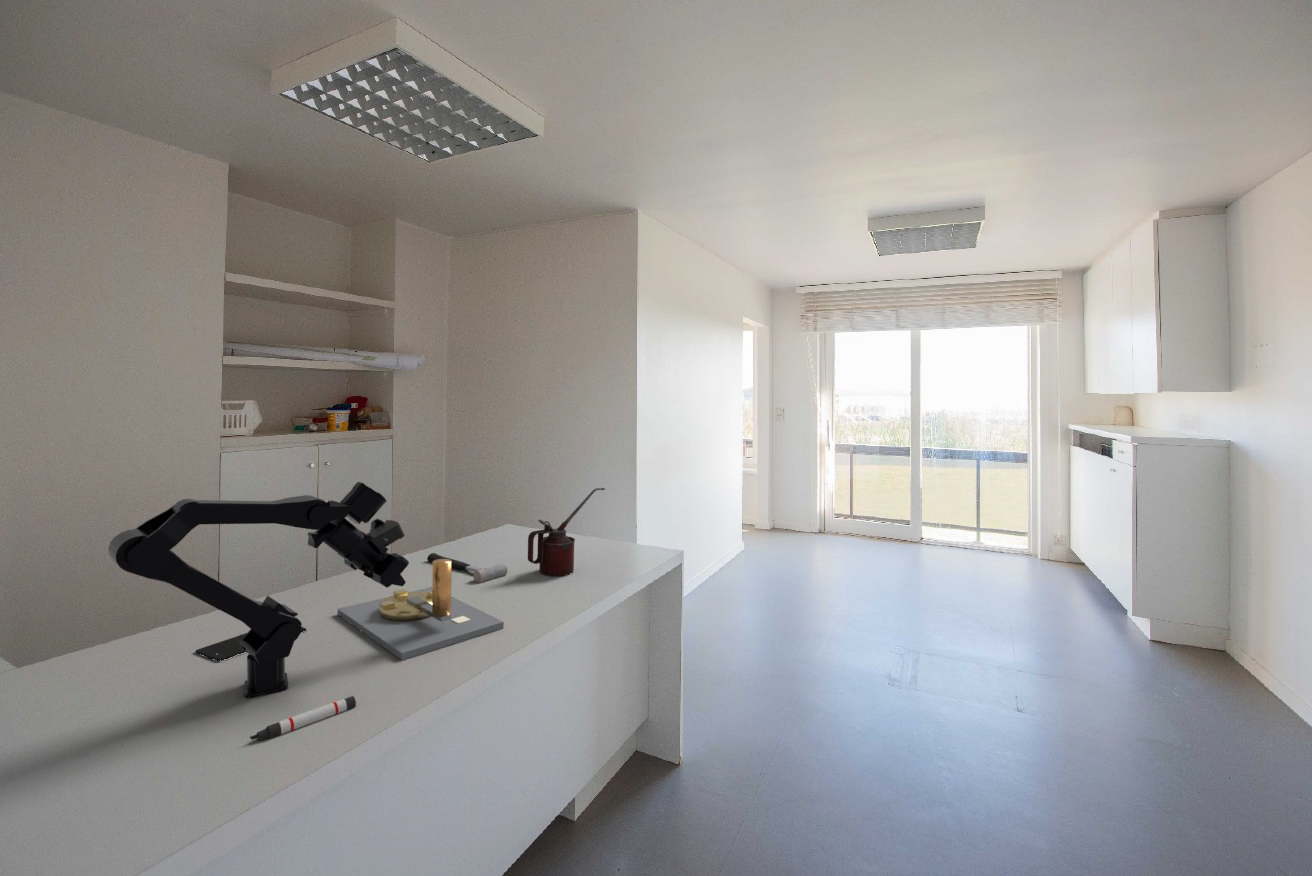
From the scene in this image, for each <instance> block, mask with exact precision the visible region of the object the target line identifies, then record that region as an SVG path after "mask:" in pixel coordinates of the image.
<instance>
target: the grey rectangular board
mask: <svg viewBox="0 0 1312 876" xmlns="http://www.w3.org/2000/svg"><path fill="white" fill-rule="evenodd" d="M429 591H432V586H430V587H425V588H422V589H417V590H413V591H411V592H429ZM388 597H389V596H386V597H383V598H378V599H373V600H370V601H365V602H361V603H356V604H353V605H347V606H343V607H340V608H337V615H338V617H340V616H341V617H342V618H341V617H340V618H341V619H343V620H344V619H345V620H344V621H346V620H347V621H348V622H347V621H346V622H347V623H349V622H350V623H351V624H353V625H354V626H355V627H354V626H353V625H352V626H353V627H354V628H355V629H357V630H358V629H359V631H360V630H361V631H362V632H361V631H360V632H361V633H362V634H364V633H365V634H364V635H365V636H367V637H368V638H370V639H371V640H372V641H374V642H375V643H377V644H378V645H380V646H381V647H383V649H386V650H387V651H389V652H390V653H391V654H393V655H394V656H395V657H396V658H398V659H400V660H401V661H404V660H408V659H410V658H414V657H417V656H420V655H424V654H427V653H429V652H433V651H436V650H439V649H442V648H445V647H449V646H451V645H454V644H458V643H460V642H465V641H467V640H470V639H473V638H474V639H475V638H476V637H480V636H482V635H486V633H487V634H489V633H493V632H495V630H496V631H499V630H501V629H505V628H504V627H505V625H504V623H505V622H504V621H503V620H501V619H498V618H497V617H495V616H493V615H491V614H488V613H486V612H484V611H483V610H480V609H479V608H477V607H474V606H472V605H471V604H469V603H466V602H463V601H462V600H459V599H458V598H456V597H454V596H452V595H451V619H449V620H446V621H442V622H441V621H439V620H437V619H435V618H433V617H432V616H428V617H425V618H421V619H415V620H403V621H399V620H389V619H386V618H383V617H381V616H380V614H379V604H380V602H381V601H382V600H384V599H386V598H388ZM350 623H349V624H350ZM351 624H350V625H351ZM498 629H499V630H498Z"/></svg>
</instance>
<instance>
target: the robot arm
mask: <svg viewBox="0 0 1312 876" xmlns="http://www.w3.org/2000/svg"><path fill="white" fill-rule="evenodd" d="M387 502H388V501H387V499H386V498H385V497H384V495H383V494H381V493H380V492H377V491H375V490H374V489H372V488H371V487H370V486H368V485H367V484H365V483H364V482H361V481H357V482H356V483H355V484H354V485H353V486H352V488H351V490H350V491H349V492H348V493H347V494H346V495H344V497H343V498H342V499H341V500H340V501H339V502H338V501H335V500H332V499H331V500H325V499H322V498H319V497H316V496H313V495H309V494H308V495H307V494H306V495H305V494H304V495H298V496H290V497H285V498H281V499H278V500H267V501H266V500H218V499H217V500H211V499H209V500H204V499H203V500H202V499H194V498H184V499H181V500H179V501H177V502H176V503H175V504H173V505H172V506H170V507H169V508H168V509H166V510H163V511H162V512H160V513H159V514H157V515H154V516H153V517H152V518H149V519H147V520H146V521H144V522H143V523H142V524H140V525H138V526H137V527H136V528H133V529H127V530H125V531H122V532H121V531H120V533H119V534H117V535H115V536H114V537H113V538H112V539H111V540H110V542H109V545H108V547H107V550H108V551H107V552H108V556H109V557H110V558H111V560H112V561H113V562H114V563H115V564H116V565H117V566H118V567H119V568H120V569H121V570H122V571H125V572H127V573H130V574H133V575H136V576H139V577H143V578H146V579H149V580H154V581H158V582H163V583H167V584H169V585H171V586H173V587H175V588H177V589H179V590H181V591H182V592H185V593H187V594H189V595H191V596H192V597H194V598H196V599H198V600H200V601H202V602H204V603H206V604H208V605H210V606H212V607H213V608H215V609H217V610H219V611H220V612H223V613H225V614H227V615H229V616H230V617H233V619H236V620H239V622H242V623H243V624H244V625H245V626H247V627H248V628H249V630H248V631H247V632H246V633H247V634H246V635H245V636H244V637H243V638H242V639H241V640H240V644H241V646H242V648H243V650H244V651H246V652H247V653H246V654H248V655H246V677H247V679H246V680H244V694H243V695H244V698H245V699H246V698H251V697H256V696H261V695H265V694H270V693H275V692H279V691H284V690H287V689H289V682H288V681H289V680H288V672H286V664H285V663H286V662H285V661H286V660H285V659H286V658H288V657H289V656H290V654H291V652H292V648H293V646H294V645H295V644H294V643H295V641H296V640H297V639H298V638H299V637H300V635H301V634H302V633H301V629H302V627H303V626H302V625H303V624H302V621H301V620H300V619H299V618H297V617H296V616H298V614H299V613H298V612H296V611H295V610H293V609H291V607H289V606H287V605H285V604H281V603H280V602H278V601H277V600H276V599H274V598H272V597H271V596H269V595H267V596H266V597H265V598H264V600H263V601H259V600H255V599H253V598H250V597H248V596H246V595H245V594H243V593H241V592H239V591H237V590H236V589H234V588H232V587H230V585H229V586H228V585H227V584H225V583H223V582H222V581H220V580H218V579H216V578H215V577H212V576H211V575H209V574H207V573H205V571H202V570H200V569H198V568H197V567H195V566H193V565H191V564H189V563H187V562H186V561H184V560H183V559H182V558H181V557H180V556H178V555H177V554H176V553H175V552H174V551H173V550H172V549H174V547H176V546H177V545H178V544H179V543H180V542H181V541H182V540H183V539H184V538H185V537H186V536H187V535H188V534H189V533H190V532H191V531H192V530H194V529H195V528H196V527H197V526H198V527H199V526H200V525H248V524H249V525H251V524H252V525H257V524H261V525H262V524H264V525H265V524H276V525H282V526H288V527H293V528H299V529H306V530H313V532H310V531H309V532H307V536H308V538H307V545H308V546H309V547H312V548H314V549H318V548H319V547H320V546H321V545H322V544H325V545H326V546H327V547H329V548H330V549H332V550H333V551H334V552H336V553H337V555H338V556H340V557H341V558H343V562H344V565H346V566H347V567H349V568H350V569H352V570H354V571H357V570H359V571H360V572H362V573H363V576H365V577H367V578H368V579H371V580H372V581H374V582H376V583H378V584H379V585H381V586H383V587H385V588H389V587H391V586H392V585H393V586H398V587H403V586H405V584H406V583H407V582H406V579H404V577H403V575H402V573H403V572H404V570H405V569H406V568H407V567H408V565H409V564H410V561H409V560H408V559H406V558H405V557H404V556H403V555H400V554H399V553H396V552H394V553H393V552H392V553H389V552H388V550H389V548H387V547H388V546H390V545H392V544H394V543H395V542H396V541H398V540H402V538H404V537H405V532H404V531H403V529H402V526H401V524H400V523H399V521H397V520H396V521H395V520H393V519H386V520H385V521H383V520H382V519H380V518H375V519H374V520H372V521H371V522H370V520H371V519H372V518H373V517H374V516H375V515H376V514H377V513H378V511H380V510H381V508H382V507H383V506H384V505H385V504H386V503H387ZM346 518H348V519H349V520H350V521H352V522H353V523H355V524H357V525H360V524H361V522H362V523H363V524H368V523H369V522H370V529H369V531H368V532H367V533H365V532H364V531H362V530H360V529H359V528H358V527H356V526H355V525H354V524H353V523H351V522H350V521H349V520H348V519H346Z"/></svg>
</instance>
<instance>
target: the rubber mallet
mask: <svg viewBox="0 0 1312 876" xmlns="http://www.w3.org/2000/svg"><path fill="white" fill-rule="evenodd" d="M426 559H427V562H428V563H433V561H434V560H438V559H450V560H451V561H452V568H454V569H460V570H464V571H470V572H473V574H472V577H473V580H474V582H475V583H476V582H477V583H479V584H480V583H484V582H487V581H490V580H494V579H497V578H500V577H504V576H506V575H507V574H508V567H507V565H506V564H504V563H501V564H500V563H499V564H496V565H493V566H490V567H486V568H482V567H478V566H477V567H476V566H473V565H471V564H469V563H466V562H464V561H460V560H458V559H452V558H449V557H446V556H443V555H439V554H438V553H435V552H432V553H430V554H428V556H427V558H426Z"/></svg>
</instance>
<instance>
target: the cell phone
mask: <svg viewBox="0 0 1312 876" xmlns="http://www.w3.org/2000/svg"><path fill="white" fill-rule="evenodd" d="M301 627H302V629H301V632H303V631H306V632H307V628H306V627H303V626H301ZM247 633H248V632H245V633H243V634H240V635H237V636H234V637H230V638H228V639H225V640H222V641H218V642H216V643H212V644H210V645H206V646H204V647H200V648H198V649H195V652H196V653H198V654H201V655H204V656H206V657H208V658H207V659H209V658H210V659H209V660H211V659H215V660H217V661H220V660H221V661H222V660H224V659H228V658H230V657H233V656H235V655H237V654H241V653H244V652H246V651H244V650H243V648H242V646H241V644H240V640H241V639H242V638H243V637H244V636H245V635H246V634H247ZM303 633H304V632H303ZM196 653H195V654H196ZM198 654H197V655H198ZM201 655H200V656H201ZM206 657H205V658H206ZM228 660H229V659H228Z"/></svg>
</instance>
